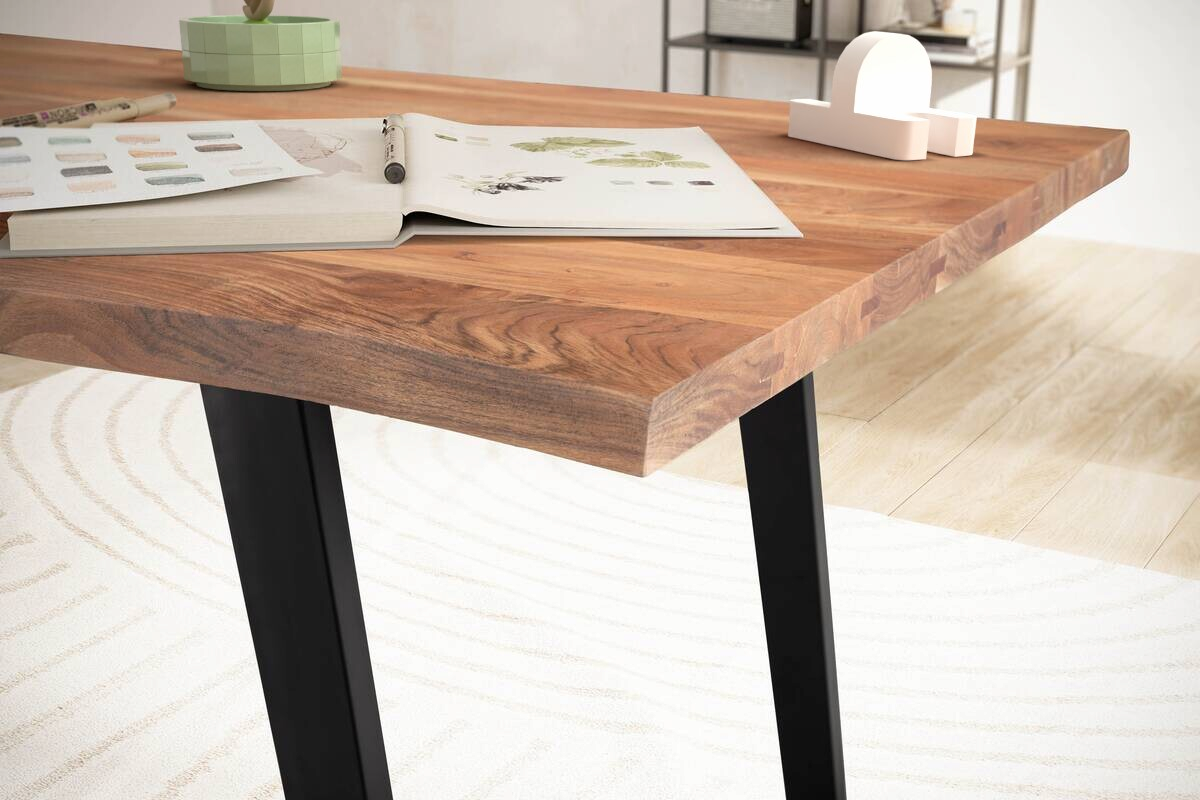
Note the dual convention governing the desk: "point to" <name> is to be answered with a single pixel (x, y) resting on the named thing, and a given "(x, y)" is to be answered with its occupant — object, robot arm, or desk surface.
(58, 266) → the desk surface
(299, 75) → the green round bowl
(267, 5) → the snail figurine
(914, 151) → the slotted bracket
